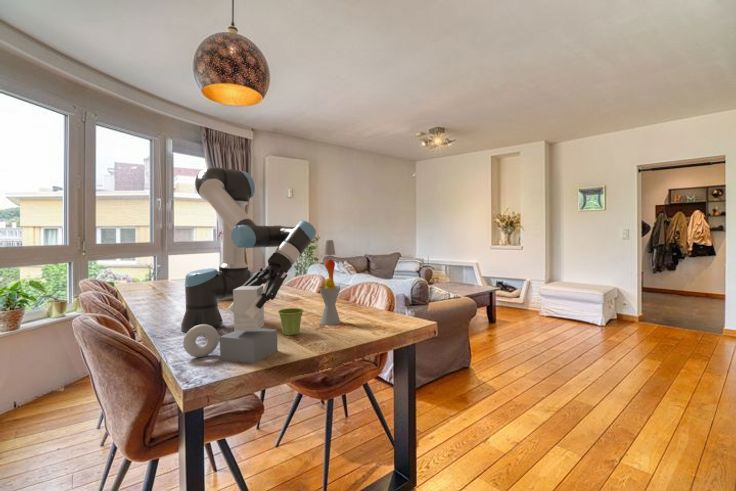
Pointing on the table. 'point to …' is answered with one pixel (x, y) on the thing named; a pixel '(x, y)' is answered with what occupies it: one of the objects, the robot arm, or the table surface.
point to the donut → (194, 333)
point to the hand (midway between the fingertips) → (240, 313)
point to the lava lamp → (330, 290)
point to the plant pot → (290, 320)
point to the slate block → (248, 345)
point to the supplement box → (242, 303)
